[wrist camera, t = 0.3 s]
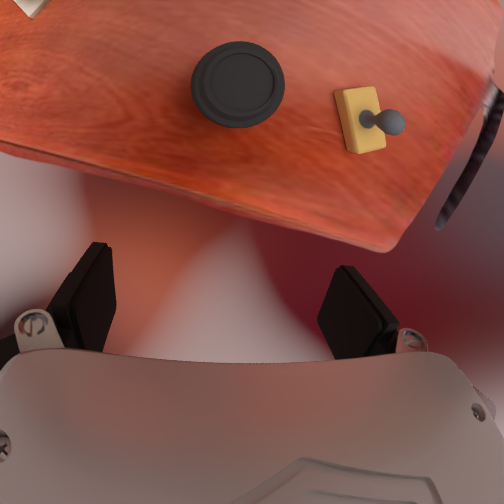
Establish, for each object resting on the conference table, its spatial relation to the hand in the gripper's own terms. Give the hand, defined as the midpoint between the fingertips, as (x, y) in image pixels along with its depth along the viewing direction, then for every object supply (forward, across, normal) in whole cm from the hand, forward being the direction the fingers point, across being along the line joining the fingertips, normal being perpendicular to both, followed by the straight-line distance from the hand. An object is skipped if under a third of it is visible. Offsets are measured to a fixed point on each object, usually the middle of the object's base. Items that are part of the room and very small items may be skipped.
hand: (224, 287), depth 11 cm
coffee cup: (+31, -1, -10) cm, 33 cm away
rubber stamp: (+31, -21, -11) cm, 39 cm away
